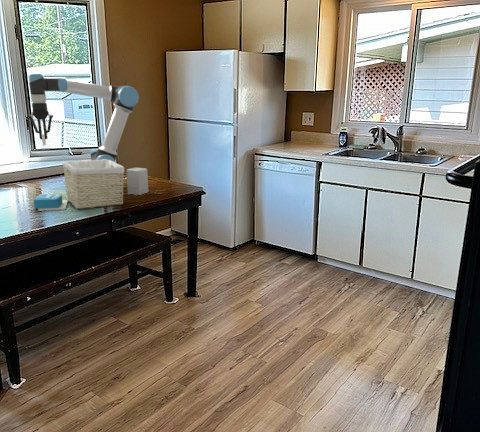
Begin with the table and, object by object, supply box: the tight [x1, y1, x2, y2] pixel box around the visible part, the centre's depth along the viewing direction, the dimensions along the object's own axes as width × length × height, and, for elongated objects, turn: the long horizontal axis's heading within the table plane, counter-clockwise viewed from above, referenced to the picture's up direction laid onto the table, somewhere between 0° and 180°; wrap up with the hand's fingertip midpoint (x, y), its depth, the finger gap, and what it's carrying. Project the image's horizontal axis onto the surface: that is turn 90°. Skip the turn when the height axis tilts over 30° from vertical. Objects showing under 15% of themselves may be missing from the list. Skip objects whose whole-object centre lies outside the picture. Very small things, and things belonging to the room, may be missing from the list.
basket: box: [62, 159, 125, 209], centre depth 240 cm, size 27×27×22 cm
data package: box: [33, 193, 63, 209], centre depth 233 cm, size 12×4×12 cm
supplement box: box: [125, 167, 149, 196], centre depth 262 cm, size 9×9×15 cm
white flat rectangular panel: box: [37, 199, 69, 212], centre depth 235 cm, size 13×18×1 cm
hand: (44, 145), depth 252 cm, fingers closed
